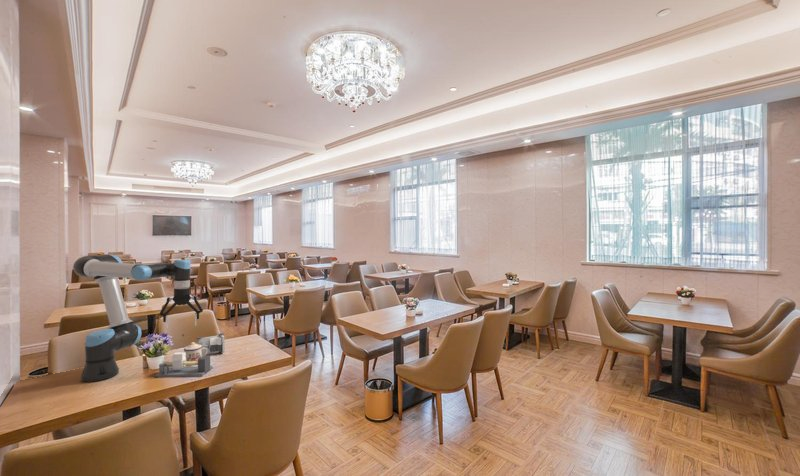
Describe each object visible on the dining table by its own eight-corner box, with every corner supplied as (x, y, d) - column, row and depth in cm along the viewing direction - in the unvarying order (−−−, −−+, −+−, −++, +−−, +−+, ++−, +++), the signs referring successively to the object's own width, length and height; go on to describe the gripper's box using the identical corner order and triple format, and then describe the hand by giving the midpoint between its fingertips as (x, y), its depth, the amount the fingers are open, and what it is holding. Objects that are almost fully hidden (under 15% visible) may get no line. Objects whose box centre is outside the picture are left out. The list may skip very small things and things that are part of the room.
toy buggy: (193, 361, 206) (193, 341, 206) (191, 357, 213) (191, 338, 213) (227, 354, 217) (227, 336, 217) (223, 350, 225) (223, 332, 225)
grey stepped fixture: (155, 377, 183) (155, 361, 183) (168, 369, 194) (168, 354, 194) (202, 376, 184) (202, 361, 184) (212, 368, 195) (212, 354, 195)
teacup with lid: (185, 366, 198) (185, 346, 197) (182, 362, 204) (181, 342, 204) (209, 361, 206) (209, 341, 206) (205, 357, 213) (204, 338, 212)
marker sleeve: (172, 368, 187) (172, 354, 187) (176, 365, 191) (176, 352, 191) (181, 368, 187) (181, 354, 187) (186, 365, 191) (186, 351, 191)
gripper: (153, 290, 183) (153, 330, 184) (208, 287, 196) (207, 325, 196) (155, 288, 190) (154, 327, 190) (207, 285, 202) (207, 322, 203)
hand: (181, 326), depth 193 cm, fingers open, 13 cm apart
